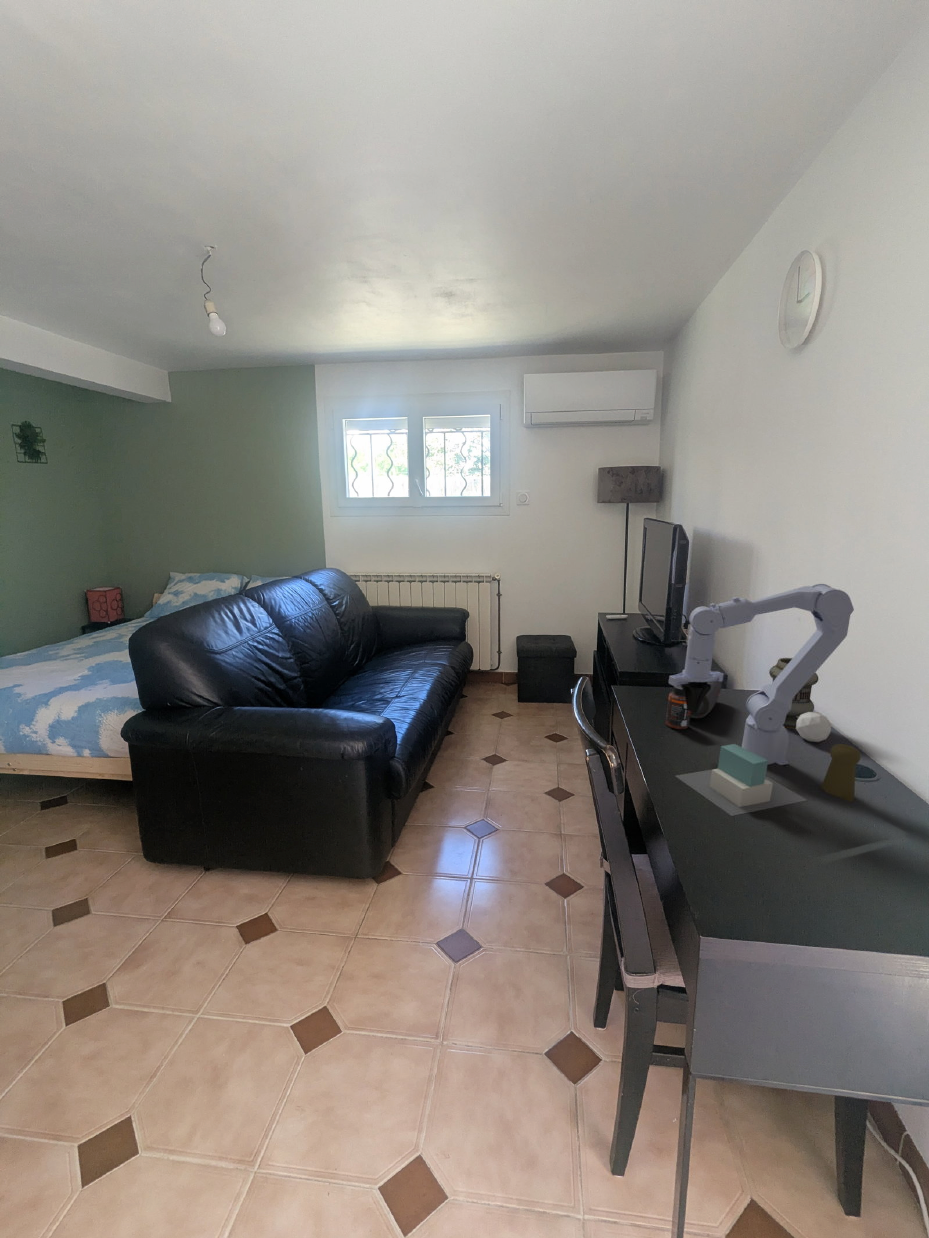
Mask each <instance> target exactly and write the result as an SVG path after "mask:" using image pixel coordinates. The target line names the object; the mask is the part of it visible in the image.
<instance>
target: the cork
mask: <svg viewBox="0 0 929 1238" xmlns="http://www.w3.org/2000/svg"><path fill="white" fill-rule="evenodd" d="M829 755H830V757H831V761H830V763H829V766H828V768H827V771H826V774H825V775H824V779H823V781H822V785H821V790H823V791H824V792H826V793H827V794H829V795H831V796H834V797H838V798H840V799H842V800H844V801H846V802H849V803H852V802H854V800H855V794H856V793H855V787H856V786H855V785H856V765H858V764H859V762H860V761H861V753H860V751H859V750H858V749H857V748H856V747H854V746H852V745H848V744H844V743H836V744H834V745H833V746H831V748H830V751H829Z"/></svg>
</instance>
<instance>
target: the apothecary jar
mask: <svg viewBox="0 0 929 1238" xmlns="http://www.w3.org/2000/svg"><path fill="white" fill-rule="evenodd" d="M792 659H793V657H780V658H778V660H777V662H776V664H775V665H773V666H772V667H771V668H770V669H769V670H768V673H769V676H770V677H771V679H772V682H773V681H774V680H775V679H776V678H777V676H778V675H779V674H780V673H781V672H782V670H783V669H784V668H785V667H786V666H787V665H788V663H789V662H790V661H791V660H792ZM818 682H819V676H818V674H817V673H816V672H815V673H814V674H813V676H812V677H811V678H810V679H809V680H808V681H807V682H806V684H805V685H804V686H803V687H802V688H801V689H800V690H799V692H798V693H797V694H796V695H795V696H794V697H793V699H792V705H791V710H790V711H789V712H788V713H787V715H786V718H785V722H784V724H783V726H784V727H786V729H791V728H793V729H792V730H796V723H797V720H798V718H799V717H800V715H801V714H804V713H807V712H814V710H815V703H814V702H813V701H812V700H811V696H812V689H813V688H812V687H813V686H814V685H816V684H817V683H818Z"/></svg>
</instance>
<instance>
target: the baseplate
mask: <svg viewBox="0 0 929 1238" xmlns="http://www.w3.org/2000/svg"><path fill="white" fill-rule="evenodd" d="M713 769H714V768H713ZM713 769H707V770H702V771H695V772H690V773H684V774H677V775H675V777H676V778H677V779H679V780H680V781H681V782H683V783H684V784H685V785H687V786H688V787H689V788H691V789H693V790H694V791H695V792H697V793H698V794H699V795H702V797H704V798H705V799H707V800H708V801H710V802H711V803H713V804H714V805H716V806H717V807H718V808H719V809H721V810H722V811H724V812H725V813H727V814H728V815H729V816H731V817H733V816H734V817H735V816H738V815H745V814H748V813H749V814H750V813H753V812H758V811H763V810H767V809H772V808H778V807H782V806H783V807H784V806H787V805H792V804H797V803H802V802H806V801H808V799H806V798H805V797H803V796H801V795H799V794H798V793H796V792H794V791H792V790H791V789H789V788H788V787H786V786H784V785H782V784H780V783H778V782H777V781H775V780H773V779H771V778H770V777H768V776H765V779H767V780H768V781H770V782H772V783H773V786H772V792H771V798H770V801H767V802H762V803H757V804H752V805H747V806H742V807H739V806H737V805H736V804H734V803H733V802H731V801H730V800H728V799H727V798H725V797H724V796H722V795H721V794H719V793H718V792H716V791H715V790H713V789H712V788H711V787H710V780H711V774H712V770H713Z"/></svg>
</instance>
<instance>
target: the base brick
mask: <svg viewBox="0 0 929 1238" xmlns="http://www.w3.org/2000/svg"><path fill="white" fill-rule="evenodd" d="M711 770H712V769H711ZM772 786H773V783H772V782H770V781H768V780H767V779H765V782H764V783H763V784H759V785H755V786H751V787H750V786H748V785H746V784H745V783H743V782H741V781H739V780H738V779H736V778H734V777H732V776H731V775H729V774H727V773H725V772H724V771H722V770H720V769H718V768H713V770H712V774H711V780H710V787H711V788H712V789H713V790H715V791H716V792H718V793H719V794H721V795H722V796H724V797H725V798H727V799H728V800H730V801H731V802H733V803H734V804H736V805H737V806H739V807H742V806H747V805H752V804H757V803H762V802H767V801H770V798H771V792H772Z"/></svg>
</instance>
